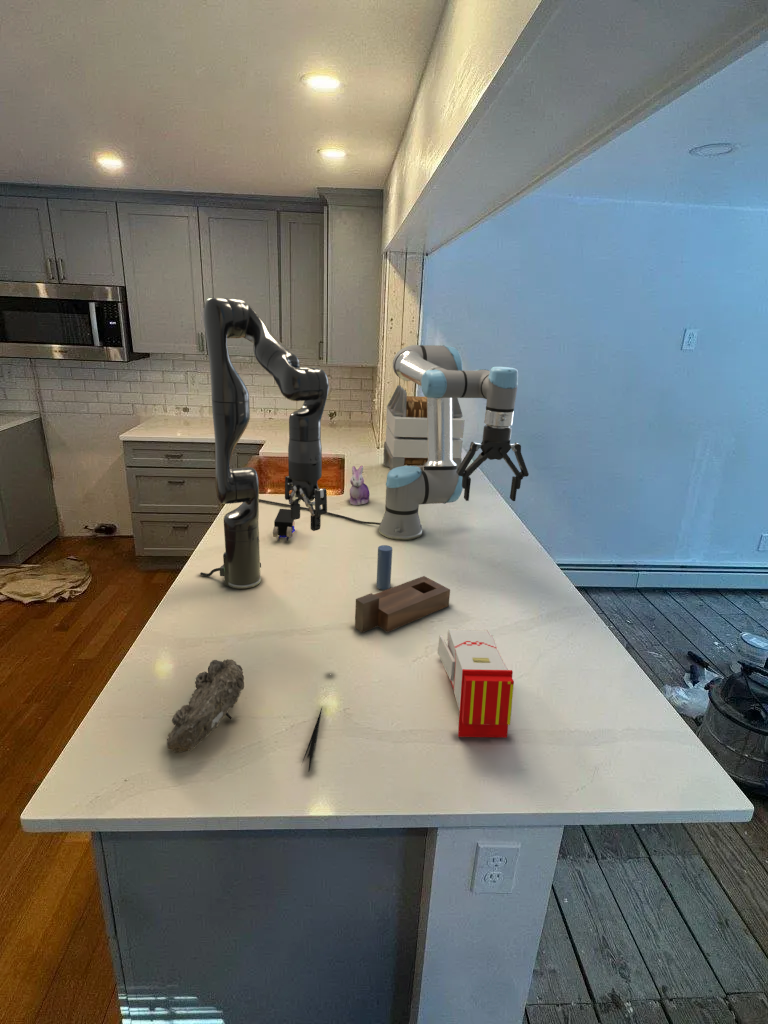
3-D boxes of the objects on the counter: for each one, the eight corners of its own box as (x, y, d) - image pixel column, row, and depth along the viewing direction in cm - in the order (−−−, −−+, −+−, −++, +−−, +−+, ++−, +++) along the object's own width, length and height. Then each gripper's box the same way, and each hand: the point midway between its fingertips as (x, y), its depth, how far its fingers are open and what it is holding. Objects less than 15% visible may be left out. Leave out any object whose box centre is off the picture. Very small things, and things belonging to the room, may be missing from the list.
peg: (373, 585, 162) (375, 547, 158) (384, 582, 164) (385, 544, 160) (382, 591, 159) (384, 552, 155) (393, 587, 162) (395, 548, 157)
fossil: (192, 660, 117) (244, 628, 112) (224, 691, 120) (276, 661, 115) (142, 746, 98) (202, 712, 93) (182, 779, 101) (242, 748, 96)
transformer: (382, 463, 289) (386, 382, 275) (445, 464, 293) (451, 384, 279) (390, 482, 257) (394, 392, 243) (460, 483, 261) (468, 394, 247)
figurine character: (292, 547, 188) (298, 526, 201) (292, 527, 184) (297, 507, 198) (272, 547, 187) (279, 526, 201) (271, 526, 184) (278, 506, 197)
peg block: (346, 621, 143) (346, 593, 140) (422, 591, 160) (424, 566, 157) (371, 639, 136) (372, 609, 133) (448, 606, 153) (451, 579, 150)
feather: (331, 679, 122) (336, 673, 122) (307, 777, 96) (313, 769, 95) (324, 675, 122) (329, 669, 121) (298, 772, 95) (304, 764, 95)
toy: (488, 613, 130) (523, 677, 101) (484, 667, 133) (517, 744, 104) (435, 612, 130) (455, 676, 101) (432, 666, 133) (451, 743, 103)
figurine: (353, 507, 224) (354, 470, 219) (343, 499, 232) (343, 463, 227) (374, 504, 228) (376, 468, 223) (364, 496, 237) (365, 462, 231)
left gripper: (274, 453, 131) (275, 518, 137) (308, 467, 121) (308, 537, 127) (302, 449, 136) (302, 512, 141) (337, 462, 126) (335, 530, 131)
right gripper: (456, 427, 149) (449, 503, 157) (547, 429, 152) (536, 504, 160) (450, 421, 156) (443, 494, 164) (536, 423, 159) (526, 495, 167)
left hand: (305, 524), depth 134 cm, fingers open, 8 cm apart
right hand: (489, 499), depth 162 cm, fingers open, 13 cm apart
